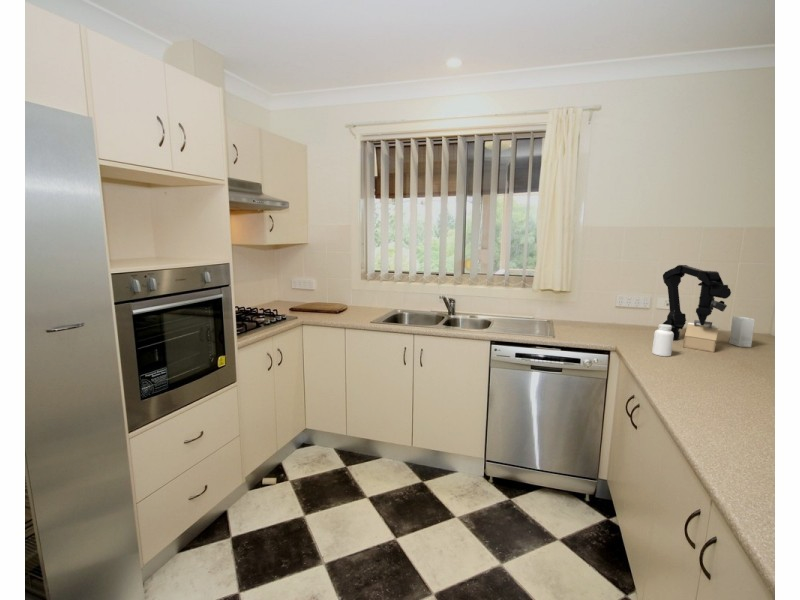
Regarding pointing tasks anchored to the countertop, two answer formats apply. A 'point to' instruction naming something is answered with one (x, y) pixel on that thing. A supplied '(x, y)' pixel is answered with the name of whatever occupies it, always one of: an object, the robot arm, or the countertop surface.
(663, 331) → the pill bottle
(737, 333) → the skincare box
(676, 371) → the countertop surface
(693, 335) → the beige handled lid
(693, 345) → the wooden drawer
